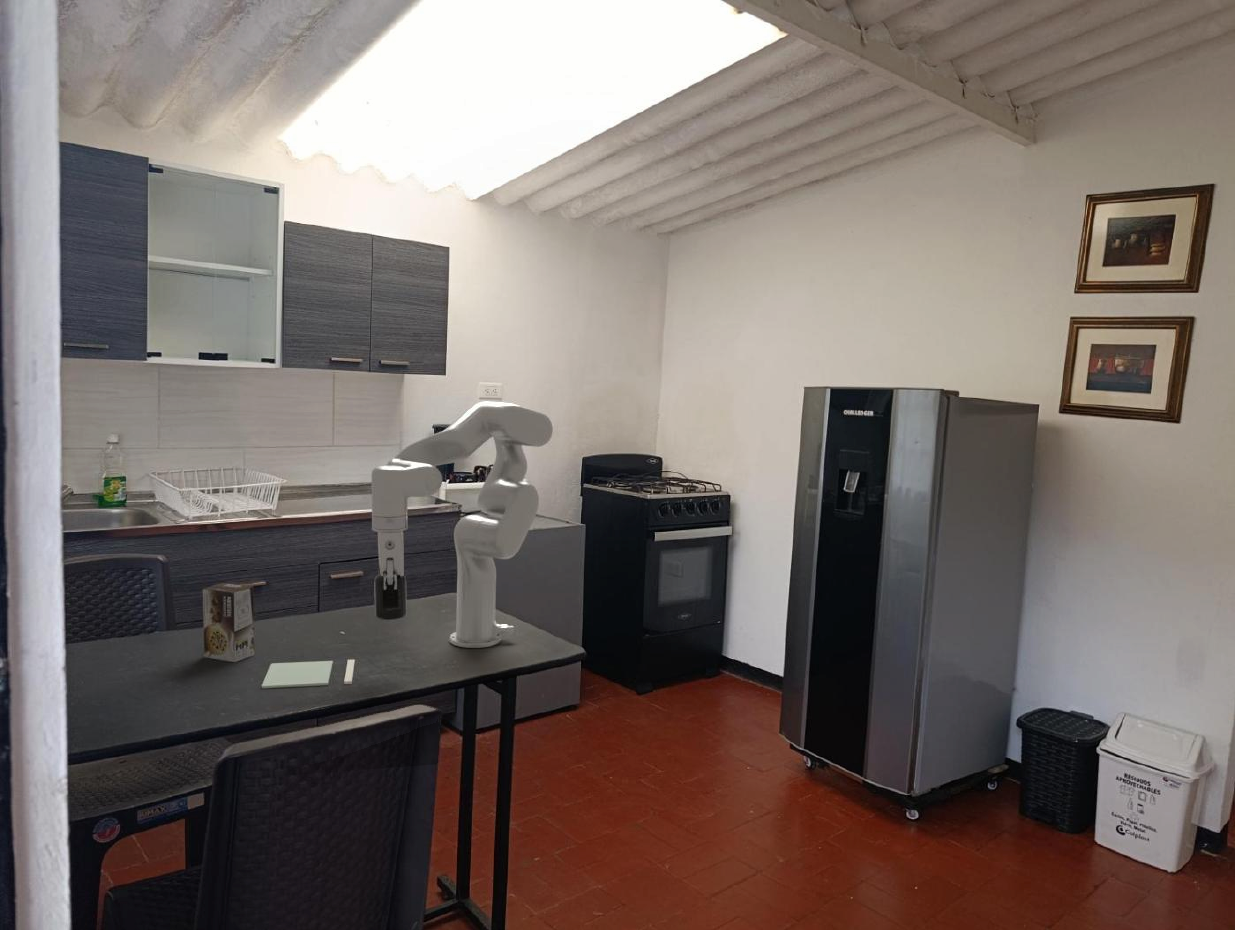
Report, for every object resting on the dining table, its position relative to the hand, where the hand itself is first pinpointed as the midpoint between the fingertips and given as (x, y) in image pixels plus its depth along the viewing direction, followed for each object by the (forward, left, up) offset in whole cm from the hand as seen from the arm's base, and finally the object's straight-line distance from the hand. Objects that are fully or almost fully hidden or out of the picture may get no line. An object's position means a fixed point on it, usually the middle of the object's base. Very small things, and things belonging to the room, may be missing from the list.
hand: (390, 601), depth 187 cm
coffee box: (+35, -15, -16) cm, 41 cm away
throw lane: (+17, 0, -16) cm, 23 cm away
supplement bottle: (0, 0, -4) cm, 4 cm away
